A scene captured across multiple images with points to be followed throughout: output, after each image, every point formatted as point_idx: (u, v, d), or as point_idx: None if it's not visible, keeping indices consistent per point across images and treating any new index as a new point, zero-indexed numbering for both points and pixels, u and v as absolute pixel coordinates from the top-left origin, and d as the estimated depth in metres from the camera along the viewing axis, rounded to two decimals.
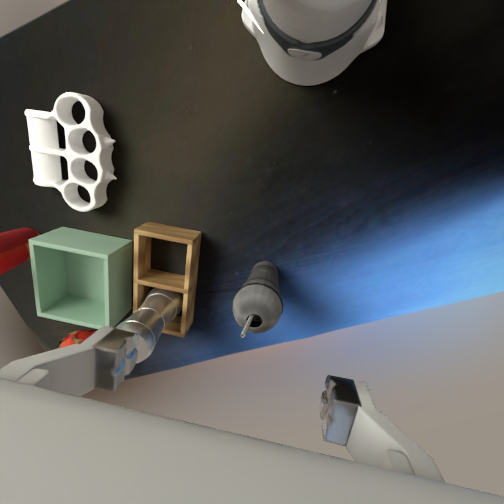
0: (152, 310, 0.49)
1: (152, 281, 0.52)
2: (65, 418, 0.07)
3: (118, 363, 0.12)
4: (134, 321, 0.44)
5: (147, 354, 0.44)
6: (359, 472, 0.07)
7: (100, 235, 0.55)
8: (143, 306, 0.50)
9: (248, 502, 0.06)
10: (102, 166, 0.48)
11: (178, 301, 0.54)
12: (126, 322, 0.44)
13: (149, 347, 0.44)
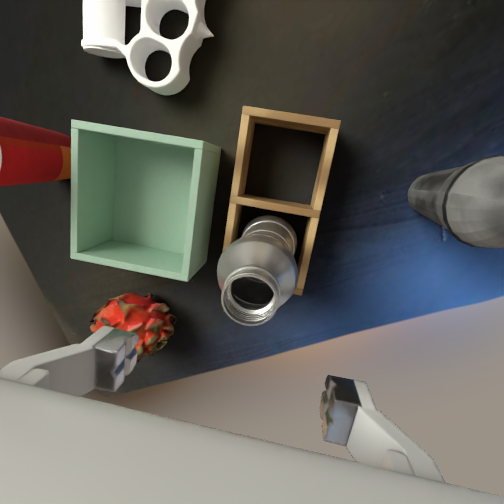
0: (274, 233, 0.29)
1: (260, 200, 0.33)
2: (65, 418, 0.07)
3: (118, 363, 0.12)
4: (262, 235, 0.25)
5: (291, 292, 0.24)
6: (359, 472, 0.07)
7: None
8: (255, 230, 0.30)
9: (248, 502, 0.06)
10: (197, 7, 0.31)
11: (294, 236, 0.35)
12: (250, 235, 0.24)
13: (295, 279, 0.24)
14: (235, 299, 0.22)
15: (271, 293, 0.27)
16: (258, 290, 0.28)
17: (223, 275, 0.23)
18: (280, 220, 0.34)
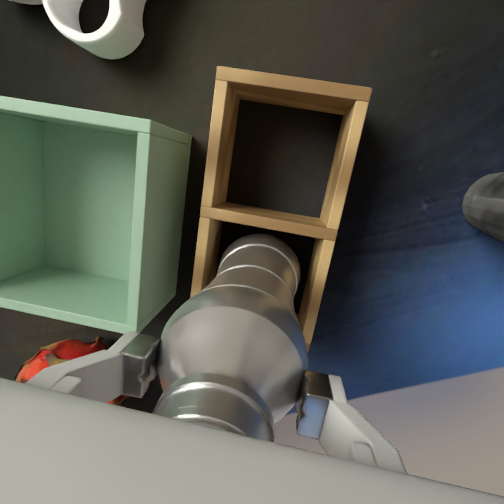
0: (265, 271, 0.18)
1: (245, 212, 0.22)
2: (65, 418, 0.07)
3: (145, 369, 0.11)
4: (242, 287, 0.13)
5: (296, 399, 0.12)
6: (359, 472, 0.07)
7: None
8: (235, 264, 0.19)
9: (248, 502, 0.06)
10: None
11: (297, 266, 0.23)
12: (219, 288, 0.13)
13: None
14: None
15: None
16: None
17: (163, 375, 0.12)
18: (276, 242, 0.23)
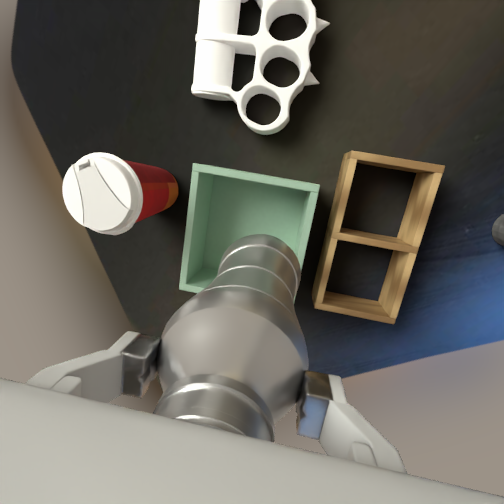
0: (265, 271, 0.18)
1: (359, 236, 0.35)
2: (65, 418, 0.07)
3: (145, 369, 0.11)
4: (242, 287, 0.13)
5: (296, 400, 0.12)
6: (359, 472, 0.07)
7: None
8: (235, 264, 0.19)
9: (248, 502, 0.06)
10: (309, 59, 0.33)
11: (297, 267, 0.23)
12: (219, 289, 0.13)
13: None
14: None
15: None
16: None
17: (163, 376, 0.12)
18: (276, 243, 0.23)
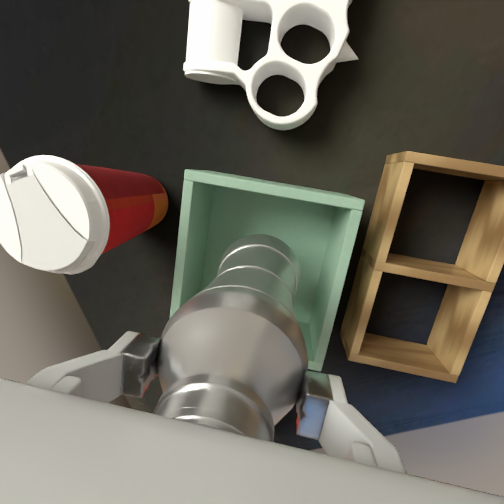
0: (265, 271, 0.18)
1: (412, 266, 0.26)
2: (65, 418, 0.07)
3: (145, 369, 0.11)
4: (242, 288, 0.13)
5: (296, 400, 0.12)
6: (359, 472, 0.07)
7: (287, 184, 0.29)
8: (235, 264, 0.19)
9: (248, 502, 0.06)
10: (347, 24, 0.24)
11: (297, 267, 0.23)
12: (219, 289, 0.13)
13: None
14: None
15: None
16: None
17: (162, 376, 0.12)
18: (276, 243, 0.23)
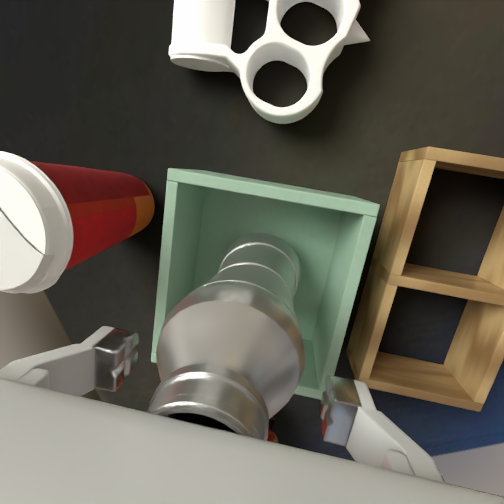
0: (265, 268, 0.18)
1: (432, 280, 0.23)
2: (65, 418, 0.07)
3: (118, 363, 0.12)
4: (241, 282, 0.14)
5: (292, 393, 0.13)
6: (359, 472, 0.07)
7: (288, 185, 0.26)
8: (236, 261, 0.19)
9: (248, 502, 0.06)
10: None
11: (298, 265, 0.24)
12: (217, 284, 0.14)
13: (300, 368, 0.13)
14: None
15: None
16: None
17: (161, 367, 0.12)
18: (277, 241, 0.23)
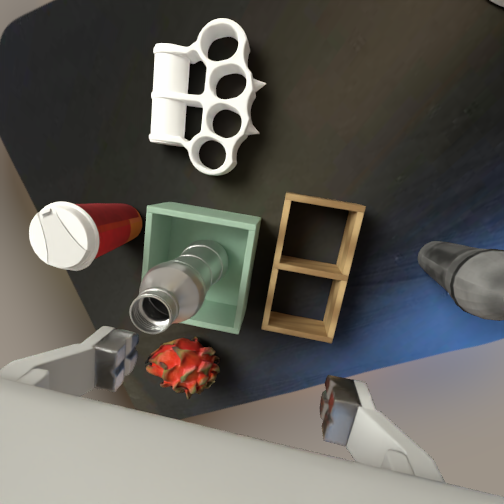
0: (196, 257, 0.35)
1: (297, 265, 0.40)
2: (65, 418, 0.07)
3: (118, 363, 0.12)
4: (177, 261, 0.31)
5: (196, 307, 0.30)
6: (359, 472, 0.07)
7: (221, 211, 0.43)
8: (183, 254, 0.36)
9: (248, 502, 0.06)
10: (248, 114, 0.38)
11: (224, 258, 0.41)
12: (166, 262, 0.31)
13: (200, 296, 0.30)
14: (147, 313, 0.28)
15: None
16: None
17: (141, 294, 0.29)
18: (211, 244, 0.41)
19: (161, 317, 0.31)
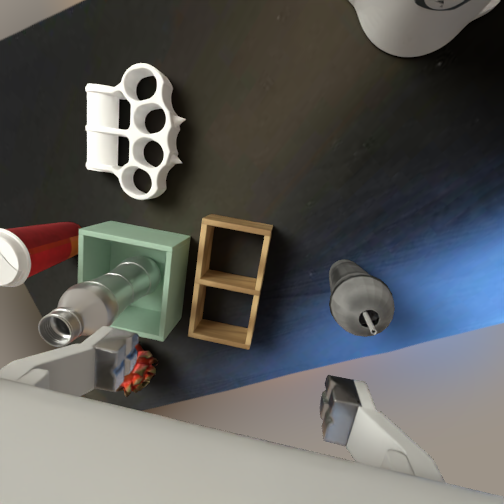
0: (118, 276, 0.40)
1: (216, 281, 0.45)
2: (65, 418, 0.07)
3: (118, 363, 0.12)
4: (92, 282, 0.36)
5: (106, 322, 0.35)
6: (359, 472, 0.07)
7: (154, 230, 0.48)
8: (109, 272, 0.41)
9: (248, 502, 0.06)
10: (170, 147, 0.43)
11: (153, 273, 0.46)
12: (83, 282, 0.36)
13: (109, 313, 0.35)
14: (59, 328, 0.33)
15: None
16: None
17: None
18: (141, 261, 0.46)
19: None
